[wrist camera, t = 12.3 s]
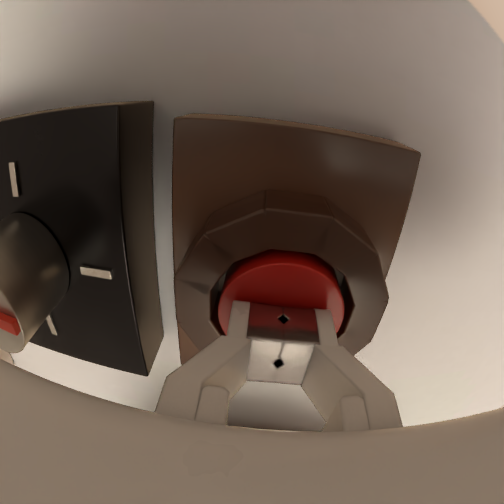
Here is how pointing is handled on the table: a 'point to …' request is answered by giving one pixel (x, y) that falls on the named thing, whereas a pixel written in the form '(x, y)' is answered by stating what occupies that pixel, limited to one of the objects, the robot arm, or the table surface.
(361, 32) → the table surface
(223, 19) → the table surface
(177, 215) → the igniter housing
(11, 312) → the knob
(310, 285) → the igniter button
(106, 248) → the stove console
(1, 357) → the beige ribbed cylinder
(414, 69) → the table surface
